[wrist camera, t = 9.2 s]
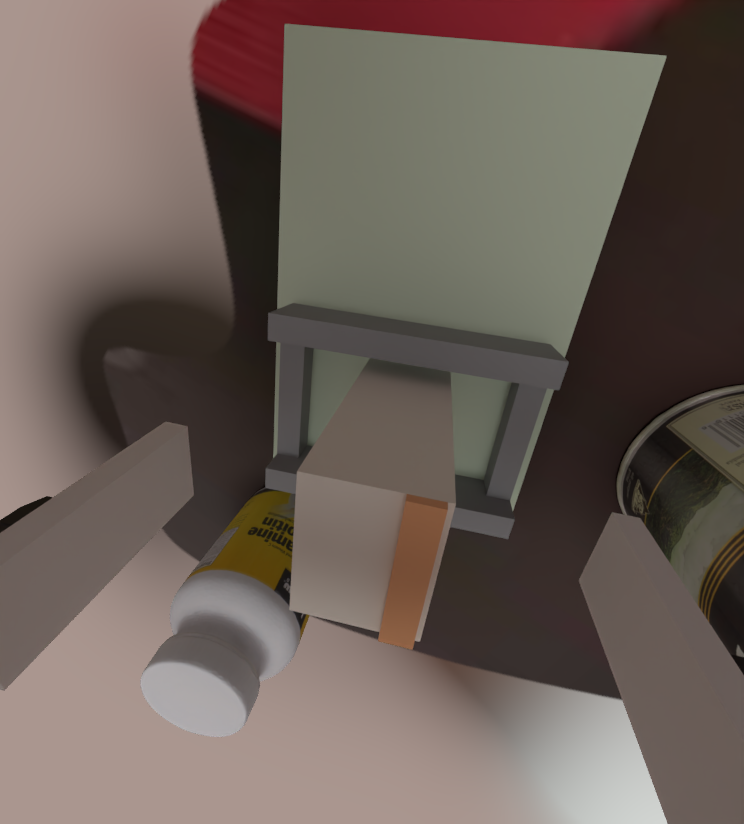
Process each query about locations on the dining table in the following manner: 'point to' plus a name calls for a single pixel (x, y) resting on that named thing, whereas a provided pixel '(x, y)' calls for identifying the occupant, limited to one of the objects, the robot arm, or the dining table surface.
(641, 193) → the dining table surface
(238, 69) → the dining table surface
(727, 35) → the dining table surface
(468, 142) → the board
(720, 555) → the coffee can
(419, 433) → the white orange rectangular block
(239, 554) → the pill bottle
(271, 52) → the dining table surface
